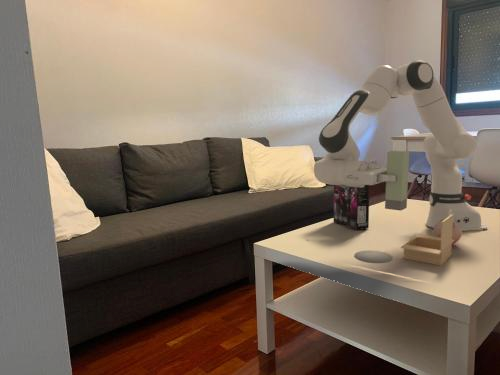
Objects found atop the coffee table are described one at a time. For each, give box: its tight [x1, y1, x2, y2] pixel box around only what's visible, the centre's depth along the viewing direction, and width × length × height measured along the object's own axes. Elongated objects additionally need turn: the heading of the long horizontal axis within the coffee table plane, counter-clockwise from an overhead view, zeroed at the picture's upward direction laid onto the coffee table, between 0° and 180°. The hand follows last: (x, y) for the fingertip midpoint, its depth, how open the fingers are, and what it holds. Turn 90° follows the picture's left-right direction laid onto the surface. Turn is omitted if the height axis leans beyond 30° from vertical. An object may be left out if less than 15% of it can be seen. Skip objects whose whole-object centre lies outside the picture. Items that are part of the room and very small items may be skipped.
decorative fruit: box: [432, 220, 463, 245], centre depth 138 cm, size 9×8×10 cm
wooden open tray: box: [400, 214, 454, 266], centre depth 126 cm, size 11×17×14 cm, turn 139°
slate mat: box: [354, 250, 394, 264], centre depth 129 cm, size 12×12×1 cm
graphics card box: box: [333, 185, 370, 231], centre depth 168 cm, size 17×7×27 cm, turn 23°
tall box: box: [384, 150, 410, 212], centre depth 124 cm, size 5×5×18 cm
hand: (399, 177), depth 123 cm, fingers closed on tall box, 5 cm apart
